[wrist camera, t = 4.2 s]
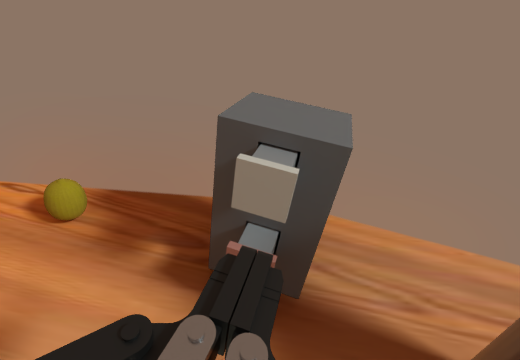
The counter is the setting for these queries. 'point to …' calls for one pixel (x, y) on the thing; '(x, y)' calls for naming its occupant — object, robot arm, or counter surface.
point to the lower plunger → (256, 240)
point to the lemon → (65, 199)
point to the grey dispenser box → (307, 185)
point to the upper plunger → (266, 181)
